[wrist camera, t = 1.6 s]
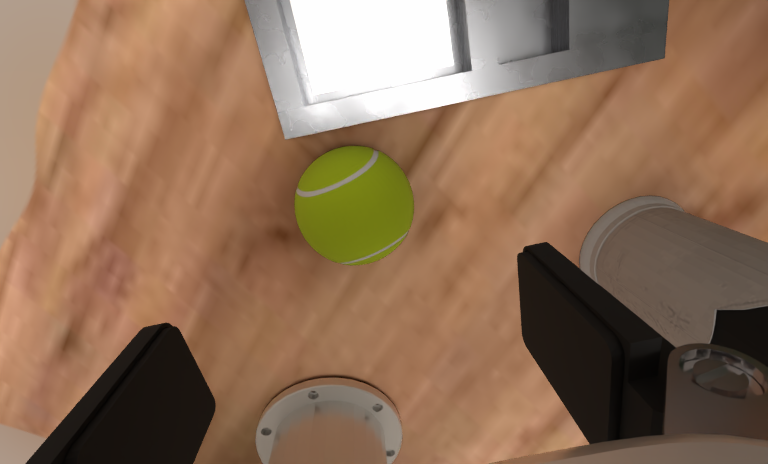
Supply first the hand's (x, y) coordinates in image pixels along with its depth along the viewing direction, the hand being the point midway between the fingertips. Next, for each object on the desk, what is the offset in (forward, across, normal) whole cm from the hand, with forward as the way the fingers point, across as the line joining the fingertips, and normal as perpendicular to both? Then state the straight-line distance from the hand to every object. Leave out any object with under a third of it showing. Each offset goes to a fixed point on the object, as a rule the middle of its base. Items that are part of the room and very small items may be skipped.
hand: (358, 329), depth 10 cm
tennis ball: (+16, 0, +1) cm, 16 cm away
